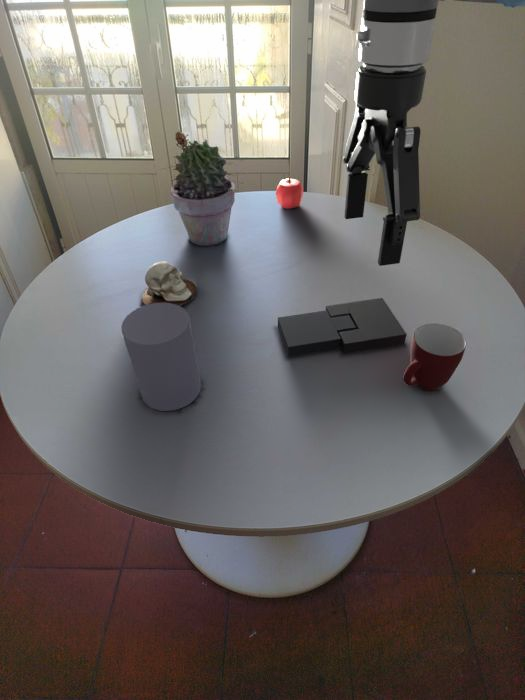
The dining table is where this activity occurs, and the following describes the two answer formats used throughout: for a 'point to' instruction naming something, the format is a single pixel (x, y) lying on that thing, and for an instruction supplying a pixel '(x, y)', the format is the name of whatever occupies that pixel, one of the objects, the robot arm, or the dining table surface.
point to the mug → (434, 356)
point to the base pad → (368, 325)
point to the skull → (167, 285)
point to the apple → (289, 193)
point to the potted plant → (202, 192)
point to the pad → (312, 332)
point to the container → (162, 355)
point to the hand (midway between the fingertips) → (369, 238)
